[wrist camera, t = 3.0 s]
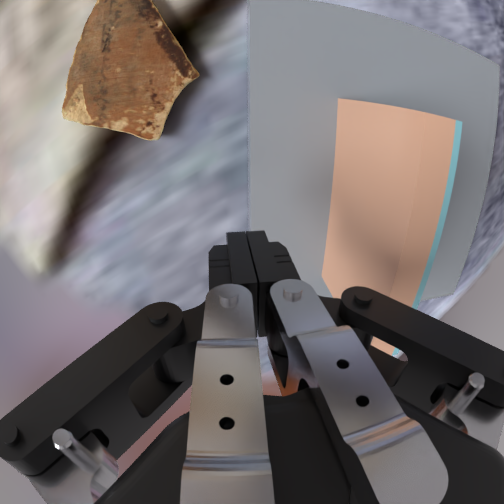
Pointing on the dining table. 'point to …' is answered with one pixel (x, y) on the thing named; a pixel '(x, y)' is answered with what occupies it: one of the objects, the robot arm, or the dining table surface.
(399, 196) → the tile
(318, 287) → the board
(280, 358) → the robot arm
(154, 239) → the dining table surface
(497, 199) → the dining table surface
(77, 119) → the shard
